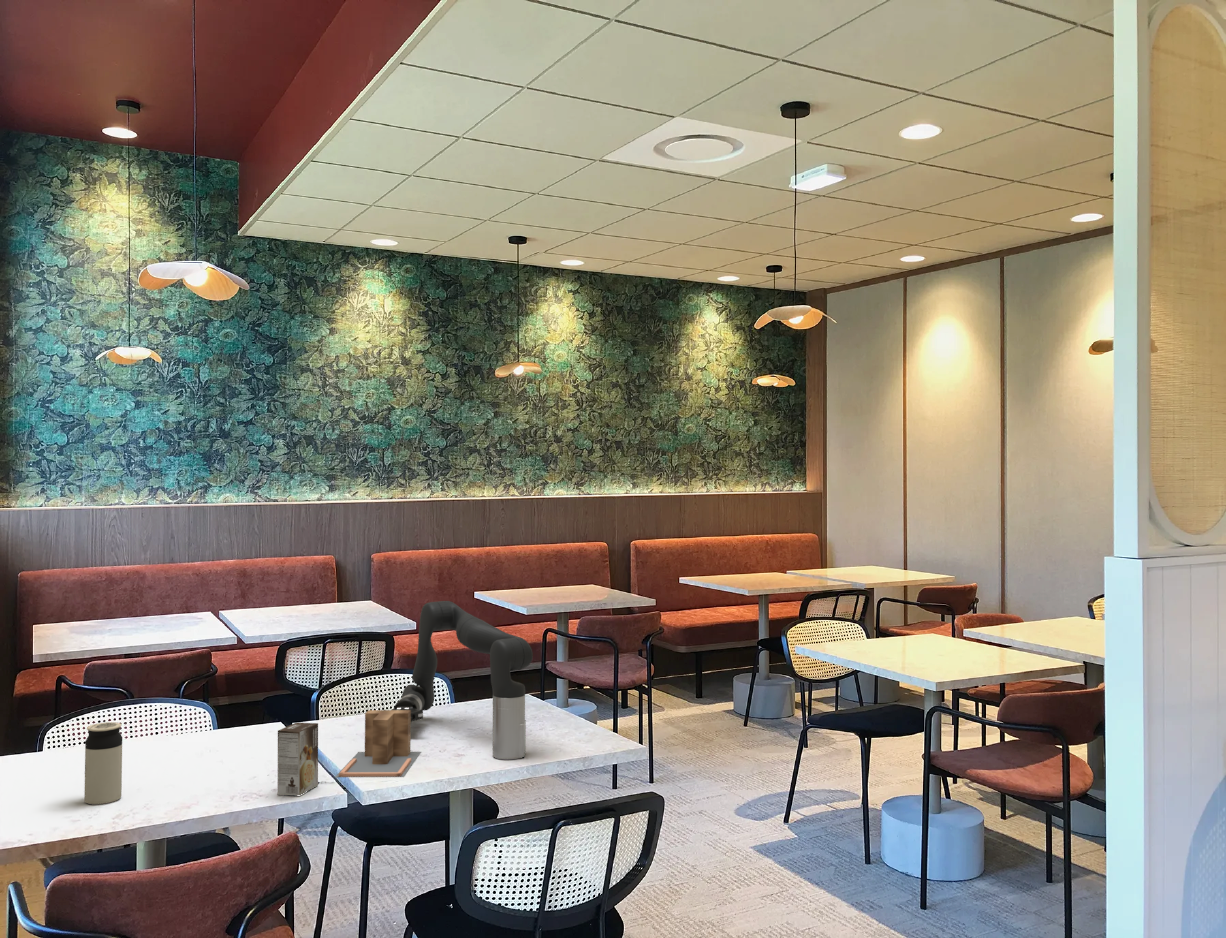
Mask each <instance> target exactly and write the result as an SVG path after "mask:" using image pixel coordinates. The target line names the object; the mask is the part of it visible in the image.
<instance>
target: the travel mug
mask: <svg viewBox="0 0 1226 938" xmlns="http://www.w3.org/2000/svg"><path fill="white" fill-rule="evenodd" d="M121 727H122V723H119V722H115V721H114V722H112V721H111V722H110V721H108V722H99V723H94V724H90V725H88V726H87V727H86V730H87V733H88V736H87V738H86V739H85V742H84V744H85V746H84V747H85V748H84V749H85V751H84V795H83V796H84V797H83V798H84V803H86V804H89V805H94V806H96V805H98V806H99V805H107V804H110V803H114V802H116V801H118V800H119V799H121V798H122V788H123V787H122V786H123V785H122V783H123V781H122V778H123V777H122V776H123V775H122V774H123V736H122V734H121V733H120V730H121Z"/></svg>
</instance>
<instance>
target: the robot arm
mask: <svg viewBox="0 0 1226 938" xmlns="http://www.w3.org/2000/svg"><path fill="white" fill-rule="evenodd" d="M420 611H421V612H420V617H419V629H418V641H417V643H418V644H417V653H416V660H415V664H414V668H413V672H412V676H411V677H412V678H411V679H412V681H413V683H414V684H408V685H407V686H405V687H404V689H403V690H402V694H401V698H400V699H399V700H398V701H397V702H396V703H395V705H394V707H393V708H392V709H391V710H411V723H412V722H415V721H419V720H423V719H424V711H428V710H430V709H431V708H433V705H434V702H435V687H434V683H435V682H434V680H435V677H436V676H435V675H436V672H437V667H438V657H437V654H436V651H435V647H434V646H433V643H432V636H433V633H434V632H438V631H448V630H452V631H455V634H456V638H457V640H458V642H459V643H460V644H461V645H462V646H464V647H466V648H468V649H470V650H471V651H474V652H477V653H482V654H488V655H489V666H490V684H491V687H492V688H491V690H492V757H493V758H494V757H495V758H494V759H498V760H516V759H523V758H522V757H524V758H525V756H526V753H527V751H526V750H527V748H526V747H527V746H526V739H527V738H526V737H527V735H526V732H527V730H526V729H527V725H526V722H527V720H526V686H525V684H524V683H521V682H519V681H515V680H513V679H512V677H511V672H515V671H521V670H524V669H526V668H528V667H529V666H530V665H531V663H532V661H533V657H534V656H533V655H534V654H533V649H532V647H531V645H530V644H529V642H528V641H527V640H526V639H524V638H522V637H521V636H517V635H513V634H511V633H508V632H506V631H503V630H501V629H499V628H497V627H496V626H493V625H492V624H489V623H488V622H487V621H485V620H483V619H481V618H478V617H477V616H475V615H473V614H470V613H469V612H467V611H465V610H464V609H463V608H461V607H460V606H459V605H457V604H456V603H454V602H453V601H449V600H442V601H441V600H440V601H429V602H427V603H425V604H424V605H423V606H422V608H421V610H420ZM415 684H416V685H415ZM525 752H526V753H525Z"/></svg>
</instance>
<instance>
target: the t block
mask: <svg viewBox="0 0 1226 938" xmlns="http://www.w3.org/2000/svg"><path fill="white" fill-rule="evenodd" d="M411 723H412V722H411V710H392V709H387V710H386V709H383V710H382V709H381V710H380V709H379V710H378V709H377V710H376V709H375V710H374V709H371V710H369V709H368V710H367V711H366V712H365V713H364V752H365V756H372V764H388V763H389V761H390V760H391V759H392V757H393V756H408V755H409V754H410V752H411V741H412V740H411V739H412V738H411V727H412V726H411Z"/></svg>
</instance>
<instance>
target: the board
mask: <svg viewBox="0 0 1226 938" xmlns="http://www.w3.org/2000/svg"><path fill="white" fill-rule="evenodd" d="M421 753H422V751H410V754H409V755H408V756H393V757H392V759H391V760H390V761H389V763H388V764H372V756H365V751H357V753H356V754H355V755H354V756H353V757H352V758H351V759H350V760H349V761H348V762H347V763H346V764H345V765H344V767H343V768H342V769H340V771H339V772H338V773H336V775H335V777H334V778H405V777H406V775H407V774H408V772H409V771H410V769H411V768H412V766H413V765H414V763H415V762H416V761H417V759H418V758H419V757H420V755H421Z"/></svg>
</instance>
